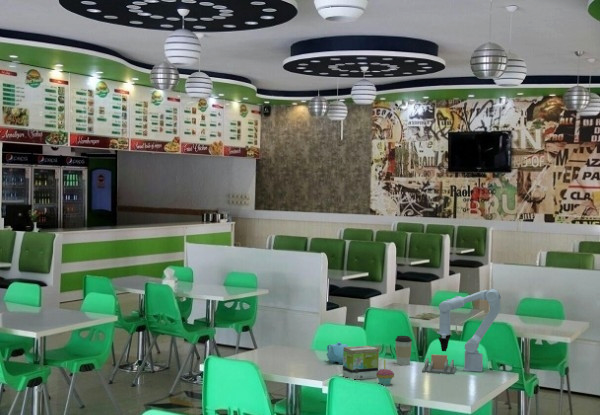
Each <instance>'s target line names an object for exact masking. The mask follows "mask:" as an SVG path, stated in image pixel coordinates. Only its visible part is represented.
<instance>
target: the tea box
mask: <svg viewBox="0 0 600 415" xmlns="http://www.w3.org/2000/svg"><path fill="white" fill-rule="evenodd" d="M379 355H380V352H379V348H377V347H374V346H371V345H358V346H348V347H344V349H343V362H342V363H343V364H342V377H343V376H344V378H346V377H348V378H352V379H356V380H365V379H366V380H367V379H378V377H377V376H376V374H377V372H378V371H379V357H380V356H379ZM348 378H347V379H348Z"/></svg>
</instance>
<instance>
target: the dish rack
mask: <svg viewBox="0 0 600 415" xmlns="http://www.w3.org/2000/svg"><path fill="white" fill-rule="evenodd" d="M429 361H430V360H429V357H426V359H425V360H424V365H423V368H422V370H421V372H422V373H425V372H427V374H428V373H429V374H440V373H442V375H455V372H456V369H457V367H456V366H455V359H451V362H450V364H449V359H448V358H447V362H445V363H444V369H433V361H431V362H429ZM429 363H430V364H429ZM449 365H450V366H449Z"/></svg>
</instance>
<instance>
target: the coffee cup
mask: <svg viewBox="0 0 600 415" xmlns="http://www.w3.org/2000/svg"><path fill="white" fill-rule="evenodd" d="M394 341H395V346H394V347H395V356H396V365H398V364H399V366H409V365H410V364H411V362H410V360H411V355H412V342H413V340H412V338H411V337H410V336H409V335H397V336H396V338H395V339H394Z"/></svg>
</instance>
